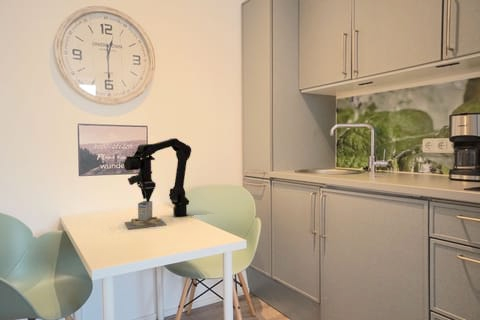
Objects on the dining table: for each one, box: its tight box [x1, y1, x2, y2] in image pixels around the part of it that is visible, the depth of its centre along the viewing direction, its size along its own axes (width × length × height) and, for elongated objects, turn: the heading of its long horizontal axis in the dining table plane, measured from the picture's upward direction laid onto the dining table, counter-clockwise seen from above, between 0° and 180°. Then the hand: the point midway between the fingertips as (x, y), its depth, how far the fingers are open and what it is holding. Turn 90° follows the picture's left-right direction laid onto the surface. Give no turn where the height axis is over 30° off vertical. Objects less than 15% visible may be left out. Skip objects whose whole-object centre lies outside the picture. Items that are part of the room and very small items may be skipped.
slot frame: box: [130, 216, 160, 226], centre depth 163 cm, size 12×8×2 cm
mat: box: [124, 218, 168, 231], centre depth 163 cm, size 18×16×1 cm
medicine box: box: [137, 200, 153, 221], centre depth 163 cm, size 8×4×9 cm, turn 175°
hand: (146, 200), depth 165 cm, fingers open, 9 cm apart
